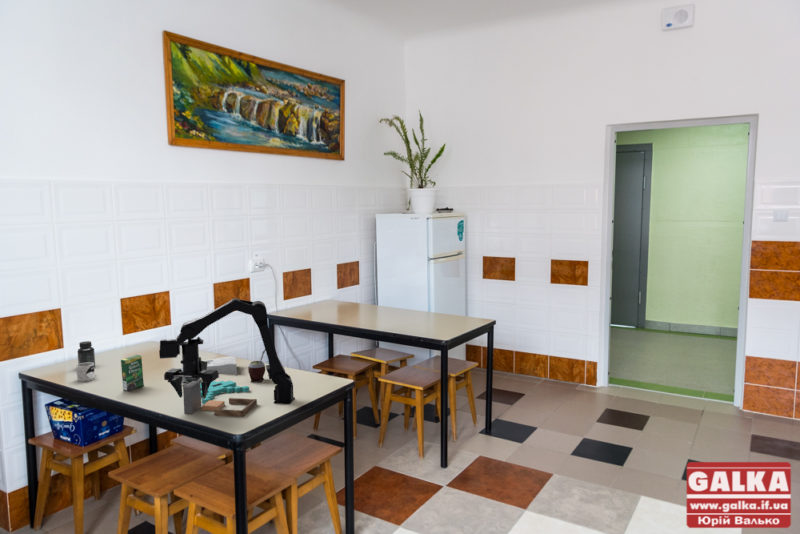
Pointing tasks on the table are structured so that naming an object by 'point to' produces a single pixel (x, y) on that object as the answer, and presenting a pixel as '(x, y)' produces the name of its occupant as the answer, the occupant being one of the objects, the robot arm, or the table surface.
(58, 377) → the table surface
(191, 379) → the ceramic mug
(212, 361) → the ramp
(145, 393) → the table surface
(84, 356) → the supplement bottle
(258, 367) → the mate gourd
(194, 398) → the grey matte slab
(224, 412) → the walnut bay
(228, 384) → the alien figure
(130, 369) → the coffee box
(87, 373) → the mug
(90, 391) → the table surface
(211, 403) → the terracotta tile
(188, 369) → the robot arm
